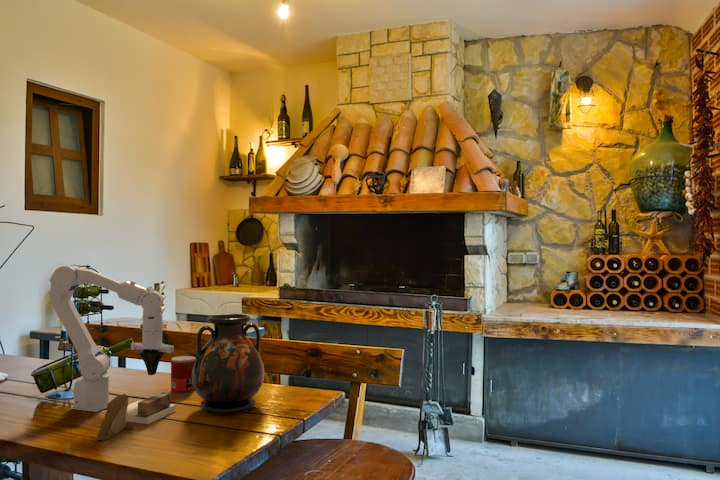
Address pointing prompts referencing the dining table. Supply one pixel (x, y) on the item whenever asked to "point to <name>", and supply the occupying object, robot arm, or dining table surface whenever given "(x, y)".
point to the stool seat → (134, 417)
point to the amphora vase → (228, 366)
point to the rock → (114, 417)
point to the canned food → (182, 374)
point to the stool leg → (154, 403)
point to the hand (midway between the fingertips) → (151, 374)
